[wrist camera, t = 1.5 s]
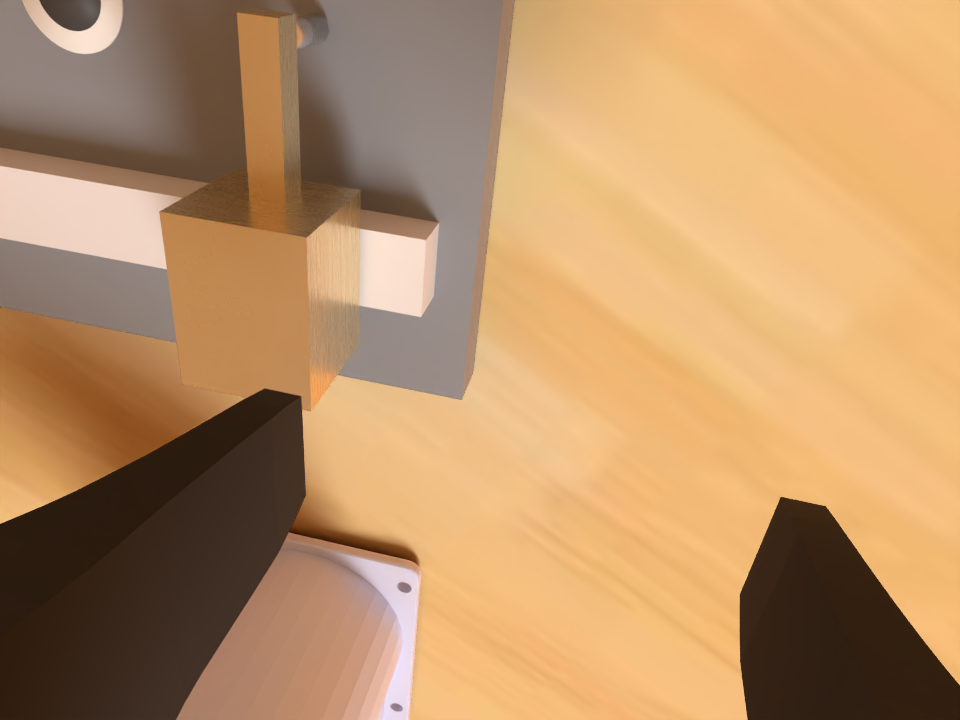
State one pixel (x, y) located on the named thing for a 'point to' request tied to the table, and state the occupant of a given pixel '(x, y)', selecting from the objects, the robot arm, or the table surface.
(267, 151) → the sliding trammel head
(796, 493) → the table surface
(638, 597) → the table surface
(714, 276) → the table surface
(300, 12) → the plate
